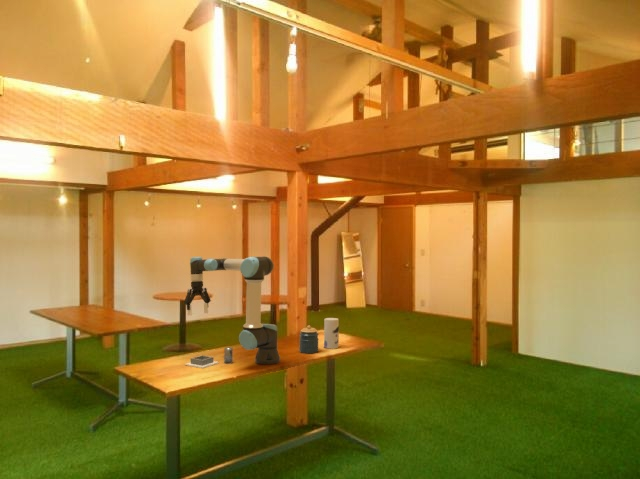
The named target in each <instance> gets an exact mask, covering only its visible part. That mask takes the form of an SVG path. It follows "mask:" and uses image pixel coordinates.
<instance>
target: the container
mask: <svg viewBox="0 0 640 479" xmlns="http://www.w3.org/2000/svg"><path fill="white" fill-rule="evenodd" d="M323 320H324V323H323V324H324V325H323V329H324V330H323V332H324V334H323V336H324V337H323V341H324V342H323V346H324V347H323V348H325V349H328V350H331V349H332V350H334V349H338V348H339V339H340V338H339V337H340V336H339V334H340V332H339V329H340V328H339V326H340V325H339V323H340V322H339V318H338V317H337V318H336V317H326V318H324V319H323Z"/></svg>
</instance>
